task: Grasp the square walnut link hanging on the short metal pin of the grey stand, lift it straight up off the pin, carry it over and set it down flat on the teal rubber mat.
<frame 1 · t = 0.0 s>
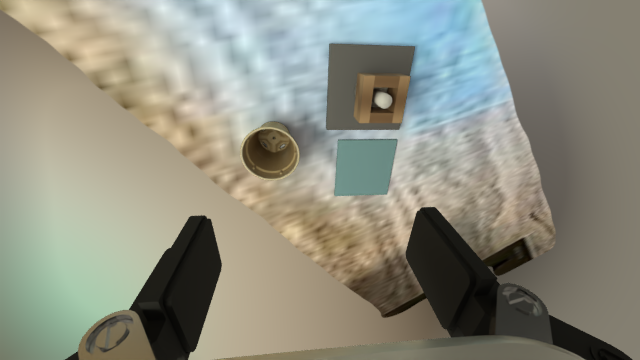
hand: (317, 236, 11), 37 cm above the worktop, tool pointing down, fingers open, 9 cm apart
flower pot: (274, 137, 47), on the worktop
walnut link: (375, 95, 39), point 6 cm above the worktop, touching stand
mat: (363, 168, 52), on the worktop
stand: (366, 89, 44), on the worktop
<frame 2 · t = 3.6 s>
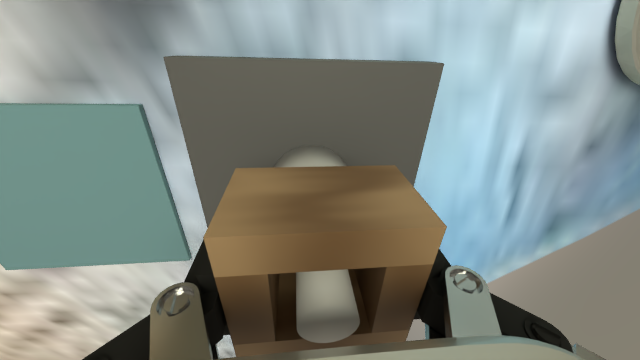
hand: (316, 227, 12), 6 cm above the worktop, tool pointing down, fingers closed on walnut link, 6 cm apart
walnut link: (316, 228, 12), point 6 cm above the worktop, touching gripper, stand
mat: (67, 196, 16), on the worktop
stand: (309, 171, 17), on the worktop
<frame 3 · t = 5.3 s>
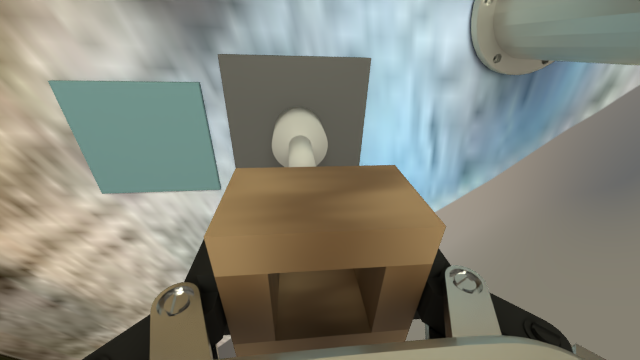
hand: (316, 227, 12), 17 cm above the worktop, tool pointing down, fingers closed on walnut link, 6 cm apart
walnut link: (316, 228, 12), point 17 cm above the worktop, touching gripper
mat: (148, 141, 26), on the worktop
stand: (298, 126, 27), on the worktop
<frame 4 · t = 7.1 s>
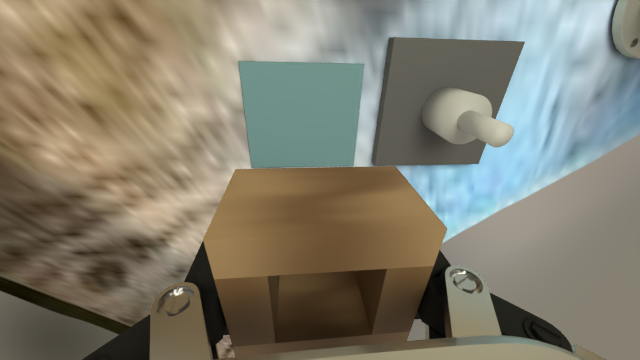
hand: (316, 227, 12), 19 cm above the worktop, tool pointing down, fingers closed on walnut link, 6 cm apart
walnut link: (316, 229, 12), point 19 cm above the worktop, touching gripper
mat: (303, 119, 28), on the worktop
stand: (435, 106, 29), on the worktop
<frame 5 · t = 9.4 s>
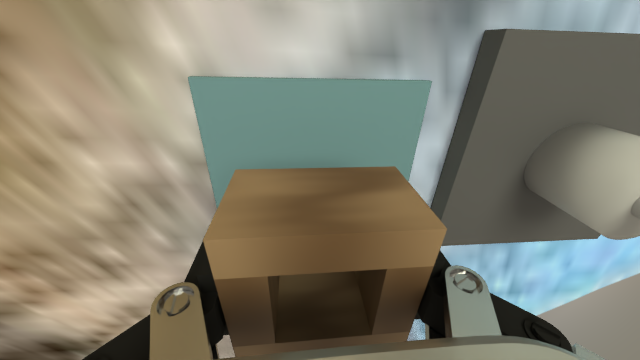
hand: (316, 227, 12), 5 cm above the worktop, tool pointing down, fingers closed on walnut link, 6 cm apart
walnut link: (316, 229, 12), point 5 cm above the worktop, touching gripper
mat: (313, 175, 16), on the worktop
stand: (543, 151, 17), on the worktop
when the fingers open (2 cm above the worktop, at t = 11.1 s): walnut link drops 2 cm, resting on mat.
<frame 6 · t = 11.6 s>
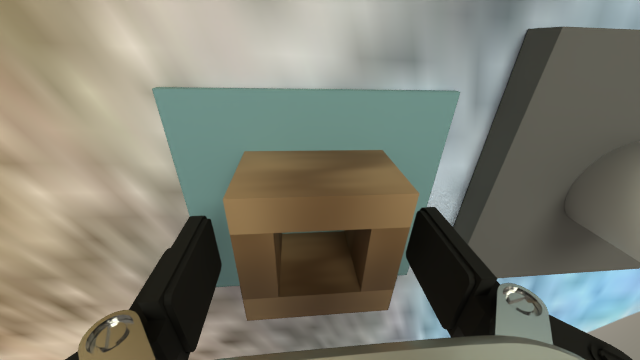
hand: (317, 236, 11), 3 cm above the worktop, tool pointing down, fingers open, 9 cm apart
walnut link: (314, 207, 13), resting on mat
mat: (313, 202, 13), on the worktop
stand: (583, 172, 14), on the worktop
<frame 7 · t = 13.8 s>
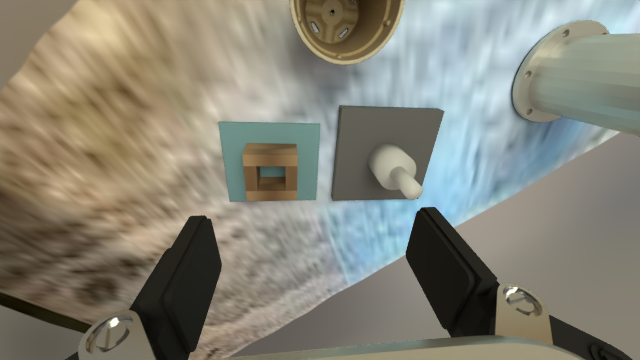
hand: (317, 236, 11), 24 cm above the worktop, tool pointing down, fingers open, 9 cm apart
flower pot: (330, 12, 27), on the worktop
walnut link: (272, 165, 34), resting on mat
mat: (272, 164, 35), on the worktop
stand: (381, 154, 36), on the worktop
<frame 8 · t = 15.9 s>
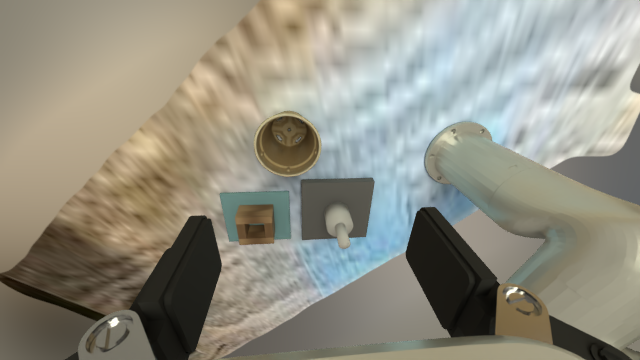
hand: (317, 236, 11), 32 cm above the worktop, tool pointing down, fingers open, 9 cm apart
flower pot: (288, 128, 42), on the worktop
walnut link: (257, 218, 49), resting on mat
mat: (257, 216, 50), on the worktop
stand: (335, 208, 51), on the worktop
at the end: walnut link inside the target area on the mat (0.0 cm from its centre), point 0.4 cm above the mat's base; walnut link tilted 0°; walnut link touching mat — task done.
